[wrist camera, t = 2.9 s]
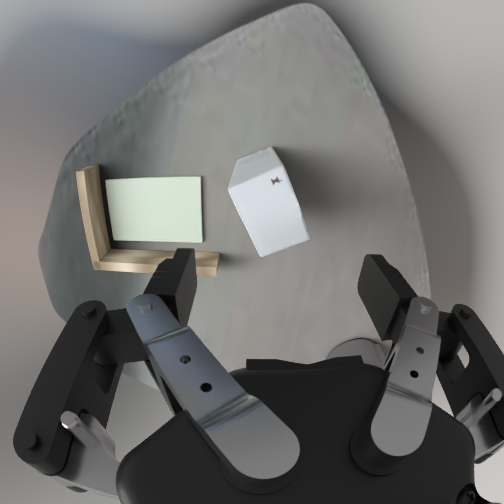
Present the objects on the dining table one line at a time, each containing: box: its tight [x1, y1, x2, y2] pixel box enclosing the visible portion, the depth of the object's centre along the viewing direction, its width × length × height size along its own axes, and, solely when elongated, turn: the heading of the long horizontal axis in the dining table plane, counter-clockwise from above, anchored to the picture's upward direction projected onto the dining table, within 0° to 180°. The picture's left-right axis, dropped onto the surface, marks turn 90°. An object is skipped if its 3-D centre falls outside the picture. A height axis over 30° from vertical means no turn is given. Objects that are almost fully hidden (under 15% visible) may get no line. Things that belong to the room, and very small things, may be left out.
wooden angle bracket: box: [76, 165, 220, 276], centre depth 30 cm, size 16×13×4 cm
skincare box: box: [228, 146, 310, 257], centre depth 24 cm, size 6×4×12 cm
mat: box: [105, 176, 203, 243], centre depth 31 cm, size 12×8×1 cm, turn 88°
